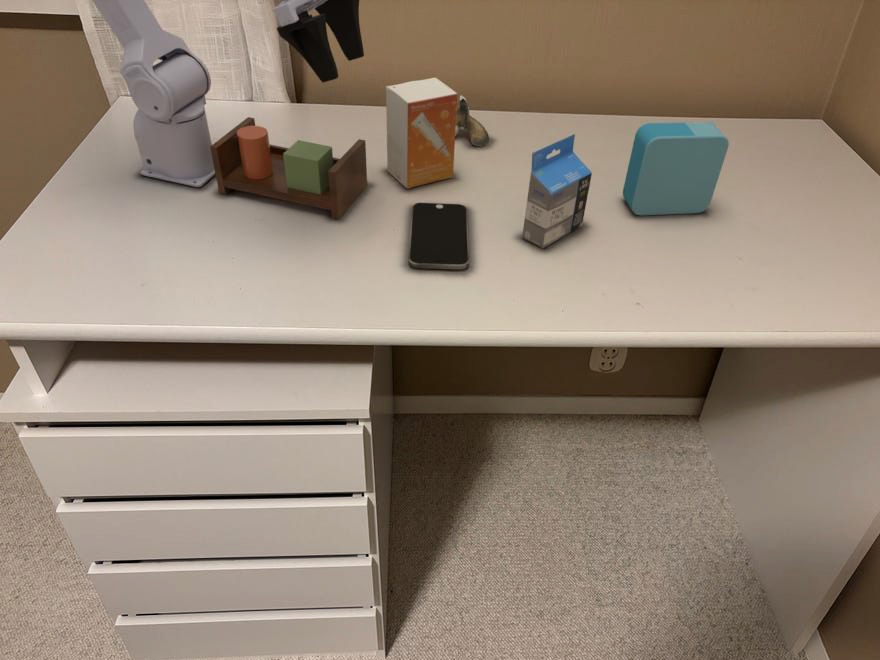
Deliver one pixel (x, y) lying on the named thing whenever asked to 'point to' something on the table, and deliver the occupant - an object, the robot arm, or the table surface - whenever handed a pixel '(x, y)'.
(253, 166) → the terracotta cylinder
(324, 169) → the green block
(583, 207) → the ink cartridge box
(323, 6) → the robot arm
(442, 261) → the smartphone
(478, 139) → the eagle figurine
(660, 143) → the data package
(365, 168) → the shelf
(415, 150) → the small box
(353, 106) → the table surface
